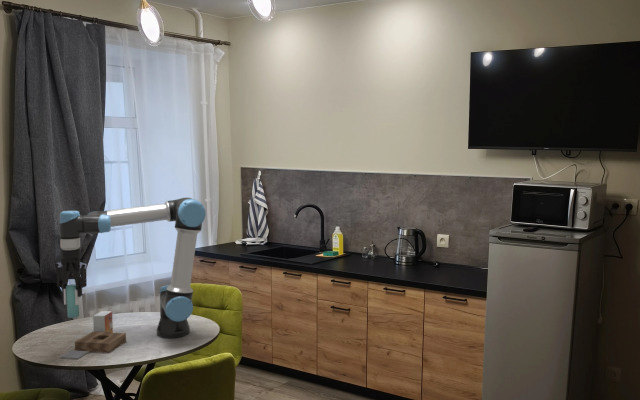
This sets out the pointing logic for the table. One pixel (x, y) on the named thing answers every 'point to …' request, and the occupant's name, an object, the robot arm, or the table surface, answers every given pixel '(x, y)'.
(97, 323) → the small box
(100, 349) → the wooden block with hole
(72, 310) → the plug
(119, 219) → the robot arm
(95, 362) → the table surface
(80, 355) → the mat
